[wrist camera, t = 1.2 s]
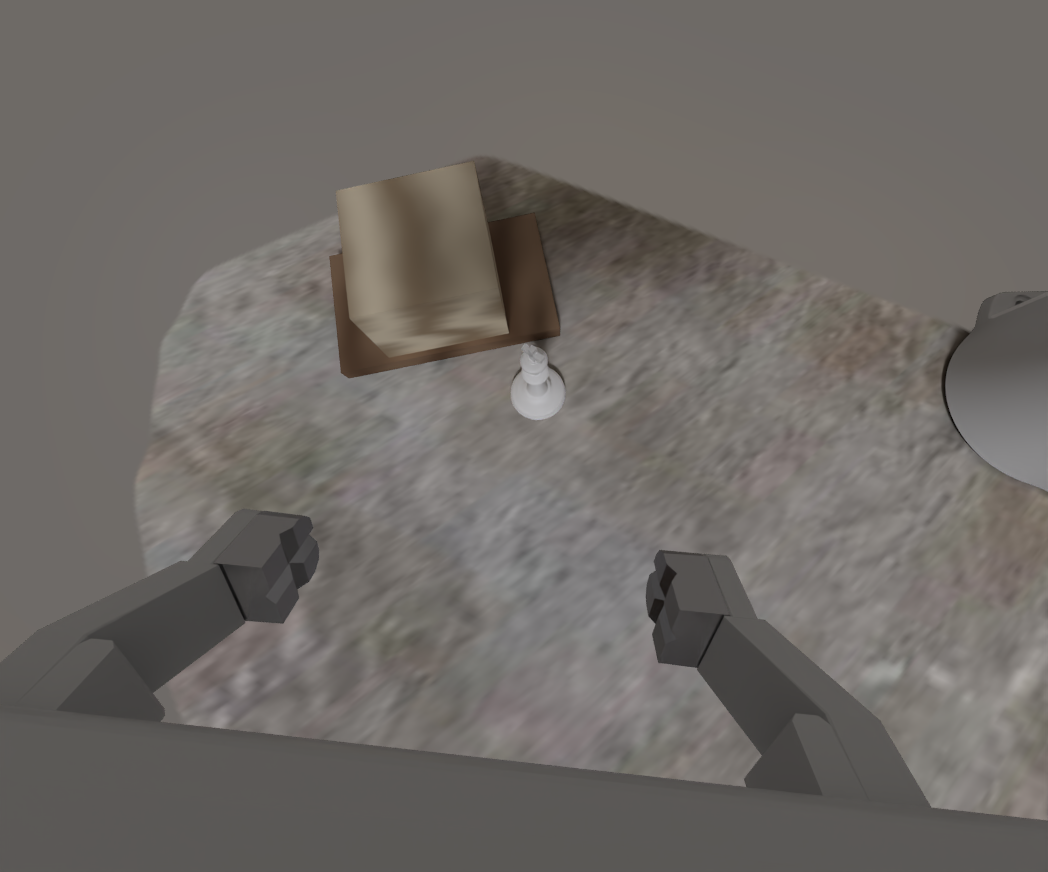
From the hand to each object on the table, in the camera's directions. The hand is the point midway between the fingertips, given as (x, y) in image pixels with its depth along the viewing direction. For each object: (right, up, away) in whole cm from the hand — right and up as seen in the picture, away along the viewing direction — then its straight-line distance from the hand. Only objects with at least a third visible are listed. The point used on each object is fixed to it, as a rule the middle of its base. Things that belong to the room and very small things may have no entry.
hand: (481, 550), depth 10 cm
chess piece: (+2, +7, +28) cm, 29 cm away
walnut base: (-7, +16, +30) cm, 35 cm away
